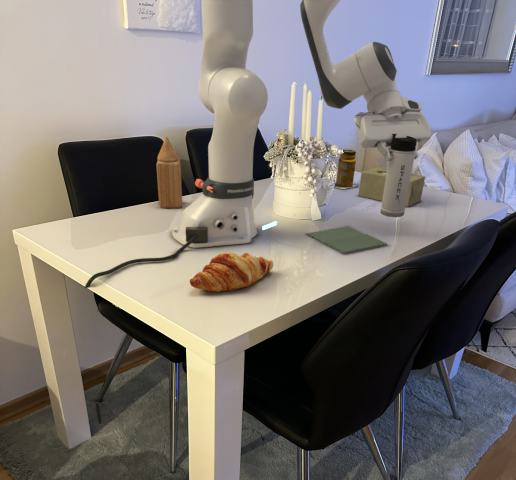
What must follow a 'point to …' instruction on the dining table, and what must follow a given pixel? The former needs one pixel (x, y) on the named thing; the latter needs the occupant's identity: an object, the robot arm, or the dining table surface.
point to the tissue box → (375, 184)
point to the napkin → (347, 240)
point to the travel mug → (398, 176)
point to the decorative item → (169, 177)
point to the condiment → (346, 170)
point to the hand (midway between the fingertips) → (402, 159)
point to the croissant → (231, 272)
